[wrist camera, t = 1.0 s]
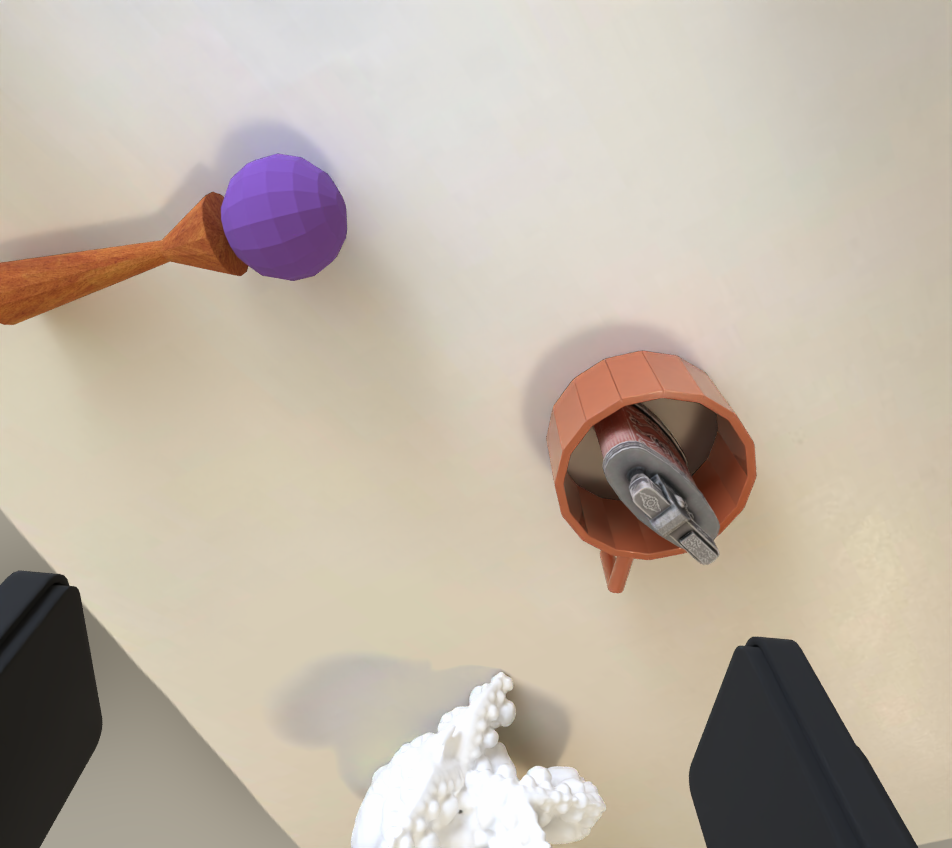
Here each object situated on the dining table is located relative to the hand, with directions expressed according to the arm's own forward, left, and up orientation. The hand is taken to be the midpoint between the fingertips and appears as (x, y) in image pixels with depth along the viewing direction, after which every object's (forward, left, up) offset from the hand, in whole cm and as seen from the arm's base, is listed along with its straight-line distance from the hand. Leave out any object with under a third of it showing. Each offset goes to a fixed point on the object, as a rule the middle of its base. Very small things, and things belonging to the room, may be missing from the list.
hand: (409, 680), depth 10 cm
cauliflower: (+33, +26, -31) cm, 53 cm away
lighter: (+3, +16, -31) cm, 35 cm away
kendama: (+10, -12, -31) cm, 35 cm away
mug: (+5, +17, -31) cm, 36 cm away
